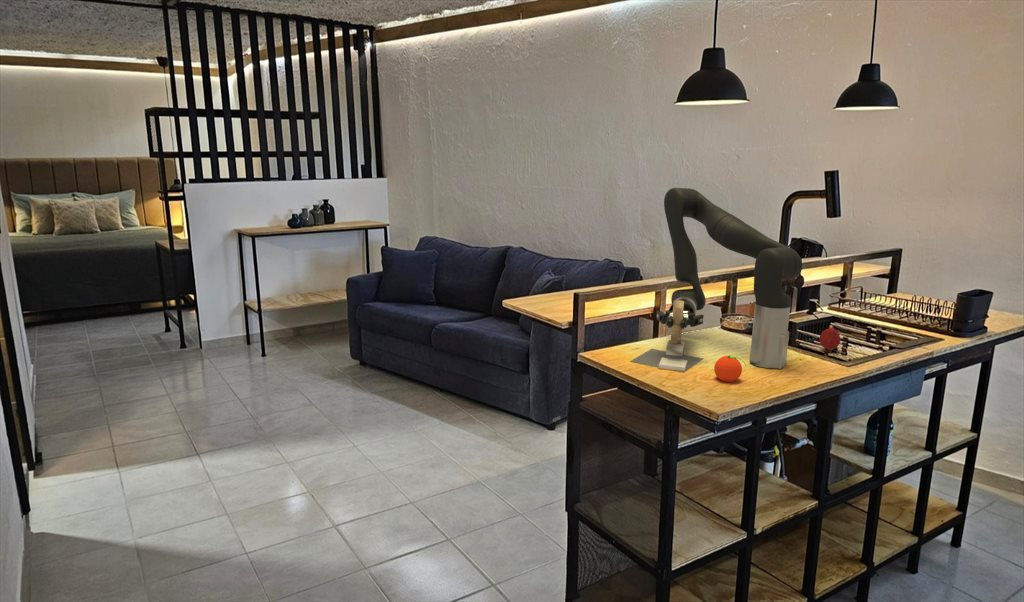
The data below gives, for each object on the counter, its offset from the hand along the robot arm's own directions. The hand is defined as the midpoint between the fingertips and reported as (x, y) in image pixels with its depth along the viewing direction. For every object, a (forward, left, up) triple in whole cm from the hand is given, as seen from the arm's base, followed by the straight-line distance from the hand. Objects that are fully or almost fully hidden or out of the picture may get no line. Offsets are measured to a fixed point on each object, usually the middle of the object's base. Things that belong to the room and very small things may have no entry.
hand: (676, 324), depth 184 cm
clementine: (-16, +3, -12) cm, 21 cm away
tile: (+1, -2, -11) cm, 11 cm away
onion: (-32, -44, -12) cm, 56 cm away
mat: (+3, -3, -12) cm, 13 cm away
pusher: (+1, -3, -9) cm, 9 cm away
